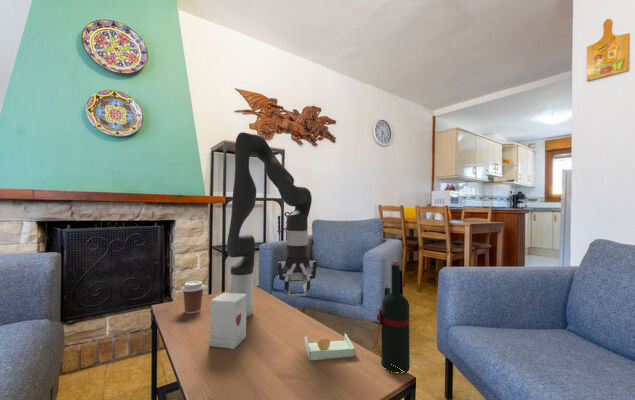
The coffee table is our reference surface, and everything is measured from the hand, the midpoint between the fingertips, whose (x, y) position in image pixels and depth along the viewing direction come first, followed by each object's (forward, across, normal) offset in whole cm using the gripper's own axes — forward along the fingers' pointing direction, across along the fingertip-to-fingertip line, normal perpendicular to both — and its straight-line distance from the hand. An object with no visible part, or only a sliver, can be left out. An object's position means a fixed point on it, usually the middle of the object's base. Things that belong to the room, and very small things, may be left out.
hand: (297, 291), depth 99 cm
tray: (+16, -9, +11) cm, 21 cm away
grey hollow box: (0, 0, -2) cm, 2 cm away
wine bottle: (+16, -25, +22) cm, 37 cm away
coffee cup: (+16, +42, -31) cm, 55 cm away
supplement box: (+16, +23, 0) cm, 28 cm away
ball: (+14, -7, +11) cm, 19 cm away
